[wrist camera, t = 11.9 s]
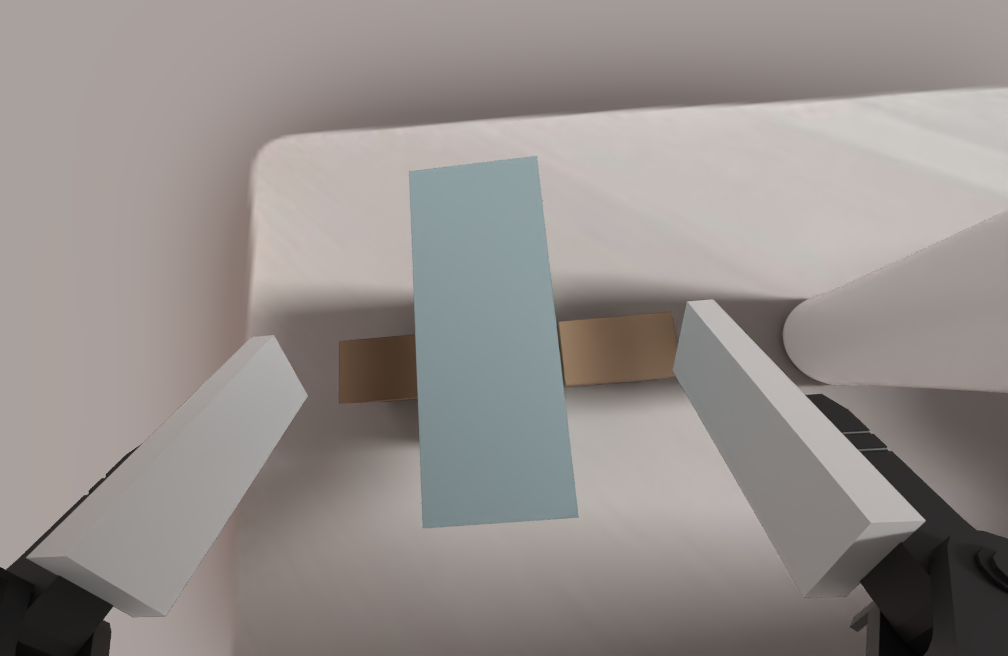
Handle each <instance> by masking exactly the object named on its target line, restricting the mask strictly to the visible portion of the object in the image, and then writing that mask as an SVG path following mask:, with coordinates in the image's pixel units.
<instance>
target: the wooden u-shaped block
mask: <svg viewBox="0 0 1008 656" xmlns="http://www.w3.org/2000/svg"><path fill="white" fill-rule="evenodd" d="M557 335H558V343H559V352H560V361H561V369H562V378H563V387H573V386H586V385H598V384H611V383H623V382H636V381H646V380H654V379H662V378H670V377H676V376H675V374H674V372H673V371H672V370H673V366H674V361H675V356H676V351H677V341H676V336H675V330H674V324H673V318H672V312H661V313H650V314H638V315H627V316H616V317H605V318H594V319H583V320H572V321H560V322H559V323H558V325H557ZM411 399H418V389H417V363H416V337H415V335H404V336H393V337H382V338H371V339H360V340H348V341H340V344H339V403H362V402H386V401H398V400H411Z"/></svg>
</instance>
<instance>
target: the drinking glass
mask: <svg viewBox="0 0 1008 656" xmlns="http://www.w3.org/2000/svg"><path fill="white" fill-rule="evenodd" d="M783 343H784V347H785V350H786V352H787V354H788V356H789V358H790V359H791V361H792V362H793V363H794V365H795V366H796V367H797V368H798V369H799V370H800V371H802V372H803V373H804V374H806V375H807V376H809V377H811V378H813V379H815V380H817V381H819V382H823V383H826V384H831V385H841V386H849V385H877V386H897V387H915V388H933V389H950V390H967V391H983V392H999V393H1008V210H1006V211H1004V212H1002V213H1000V214H998V215H995V216H993V217H991V218H989V219H987V220H984V221H982V222H980V223H978V224H976V225H974V226H971V227H969V228H967V229H965V230H963V231H961V232H958V233H956V234H954V235H952V236H950V237H948V238H945V239H943V240H941V241H939V242H937V243H935V244H932V245H930V246H928V247H926V248H924V249H922V250H920V251H917V252H915V253H913V254H911V255H909V256H907V257H904V258H902V259H900V260H898V261H896V262H893V263H891V264H889V265H887V266H885V267H883V268H880V269H878V270H876V271H874V272H872V273H869V274H867V275H865V276H863V277H861V278H858V279H856V280H854V281H852V282H849V283H847V284H845V285H843V286H841V287H838V288H836V289H834V290H831V291H829V292H826V293H823V294H820V295H817V296H814V297H812V298H809V299H807V300H805V301H803V302H802V303H800V304H799V305H797V306H796V307H795V308H794V309H793V310H792V311H791V313H790V314H789V315H788V317H787V319H786V321H785V324H784V328H783Z"/></svg>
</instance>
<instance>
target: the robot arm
mask: <svg viewBox="0 0 1008 656" xmlns="http://www.w3.org/2000/svg"><path fill="white" fill-rule="evenodd" d="M672 371H673V372H674V374H675V376H676V378H677V379H678V381H679V383H680V384H681V386H682V388H683V390H684V391H685V393H686V395H687V397H688V398H689V400H690V402H691V404H692V405H693V407H694V409H695V410H696V412H697V414H698V416H699V417H700V419H701V421H702V423H703V424H704V426H705V428H706V429H707V431H708V433H709V435H710V436H711V438H712V440H713V442H714V443H715V445H716V447H717V449H718V450H719V452H720V454H721V455H722V457H723V459H724V461H725V462H726V464H727V466H728V468H729V469H730V471H731V473H732V474H733V476H734V478H735V480H736V481H737V483H738V485H739V487H740V488H741V490H742V492H743V494H744V495H745V497H746V499H747V500H748V502H749V504H750V506H751V507H752V509H753V511H754V513H755V514H756V516H757V518H758V519H759V521H760V523H761V525H762V526H763V528H764V530H765V532H766V533H767V535H768V537H769V539H770V540H771V542H772V544H773V545H774V547H775V549H776V551H777V552H778V554H779V556H780V558H781V559H782V561H783V563H784V564H785V566H786V568H787V570H788V571H789V573H790V575H791V577H792V578H793V580H794V582H795V584H796V585H797V587H798V589H799V590H800V592H801V594H802V596H803V597H804V598H818V597H846V596H847V595H848V594H849V593H850V592H851V591H852V590H853V589H855V588H856V587H857V586H858V585H859V584H860V583H861V584H862V585H863V587H864V588H865V590H866V591H867V592H868V594H869V595H870V597H871V598H872V599H873V602H871V603H870V604H869V605H868V606H867V607H866V608H864V609H863V610H862V611H861V612H860V613H859V614H857V615H856V616H855V617H854V618H853V621H852V623H851V625H850V628H852V629H854V630H855V631H857V632H858V631H859V630H860V629H862V628H863V627H864V626H866V625H867V643H866V656H1008V539H1007V538H1004V537H1000V536H997V535H994V534H991V533H988V532H984V531H977V530H976V529H974V528H973V527H972V526H971V525H970V524H969V523H967V522H966V521H965V520H964V519H963V518H962V517H961V516H959V515H958V514H957V513H956V512H955V511H954V510H953V509H952V508H951V507H950V506H949V505H948V504H947V503H946V502H945V501H944V500H943V499H942V498H941V497H940V496H938V495H937V494H936V493H935V492H934V491H933V490H932V489H931V488H930V487H929V486H928V485H927V484H926V483H925V482H924V481H923V480H922V479H921V478H920V477H918V476H917V475H916V474H915V473H914V472H913V471H912V470H911V469H910V468H909V467H908V466H907V465H906V464H905V463H904V462H903V461H902V460H901V459H900V458H899V457H897V456H896V455H895V454H894V453H893V452H892V451H888V450H887V446H886V445H885V444H884V443H883V442H882V441H881V440H880V439H879V438H877V437H876V436H875V435H874V434H870V432H869V429H868V428H867V427H866V426H865V425H864V424H863V423H862V422H861V421H860V420H859V419H858V418H856V417H855V416H854V415H853V414H852V413H851V412H850V411H849V410H848V409H846V408H844V407H843V406H841V405H839V404H838V403H836V402H834V401H833V400H831V399H829V398H828V397H826V396H824V395H823V394H814V395H805V394H804V393H803V392H802V391H801V390H800V389H799V388H798V387H797V386H796V385H795V384H794V383H793V382H792V381H791V380H790V379H789V378H788V377H787V376H786V375H785V374H784V373H783V372H782V370H781V369H780V368H779V367H778V366H777V365H776V364H775V363H774V362H773V361H772V360H771V359H770V358H769V357H768V356H767V355H766V354H765V353H764V352H763V351H762V350H761V349H760V348H759V347H758V346H757V344H756V343H755V342H754V341H753V340H752V339H751V338H750V337H749V336H748V335H747V334H746V333H745V332H744V331H743V330H742V329H741V328H740V327H739V326H738V325H737V324H736V323H735V322H734V321H733V319H732V318H731V317H730V316H729V315H728V314H727V313H726V312H725V311H724V310H723V309H722V308H721V307H720V306H719V305H718V304H717V303H716V302H715V301H714V300H713V299H711V300H699V301H687V304H686V309H685V313H684V318H683V323H682V328H681V332H680V337H679V342H678V347H677V351H676V356H675V361H674V366H673V370H672ZM307 397H308V395H307V393H306V391H305V390H304V388H303V386H302V384H301V382H300V381H299V379H298V377H297V375H296V374H295V372H294V370H293V368H292V366H291V365H290V363H289V361H288V359H287V358H286V356H285V354H284V352H283V350H282V349H281V347H280V345H279V343H278V342H277V340H276V338H275V336H274V335H269V336H256V337H251V338H250V339H249V340H248V341H247V342H246V343H245V344H244V345H243V346H242V347H241V348H240V349H239V350H238V351H237V352H236V353H235V354H234V355H233V356H232V357H231V358H229V360H227V361H226V362H225V363H224V365H222V366H221V367H220V368H219V369H218V370H217V371H216V372H215V373H214V374H213V375H212V376H211V377H210V378H209V379H208V380H207V381H206V382H205V383H204V384H203V385H202V386H201V387H200V388H199V389H198V390H197V391H196V392H195V393H194V394H193V395H192V396H191V397H190V398H189V399H188V400H187V401H186V402H185V403H183V405H181V406H180V407H179V408H178V409H177V410H176V411H175V412H174V413H173V414H172V415H171V416H170V417H169V418H168V419H167V420H166V421H165V422H164V423H163V424H162V425H161V426H160V427H159V428H158V429H157V430H156V431H155V432H154V433H153V434H152V435H151V436H150V437H149V438H148V439H147V440H146V441H145V442H144V443H142V444H141V445H139V446H138V447H137V448H135V449H134V450H132V451H131V452H129V453H128V454H127V455H126V456H124V457H123V458H122V459H121V460H120V461H119V462H118V463H117V464H116V465H115V466H114V467H113V468H112V469H111V470H110V471H109V472H108V473H107V474H106V477H105V478H102V479H101V480H100V481H98V482H97V483H96V484H95V485H94V486H93V487H92V488H91V489H90V490H89V494H88V495H84V496H83V497H82V498H81V499H80V500H79V501H78V502H77V503H76V504H75V505H74V506H73V507H72V508H71V509H70V510H68V511H67V512H66V513H65V514H64V515H63V516H62V517H61V518H60V519H59V520H58V521H57V522H56V523H55V524H54V525H53V526H52V527H51V528H50V529H49V530H48V531H47V532H46V533H45V534H44V535H43V536H42V537H40V538H39V539H38V540H37V541H36V542H35V543H34V544H33V545H32V546H31V547H30V548H29V549H28V550H27V551H26V552H25V553H24V554H23V555H22V556H21V557H20V558H19V559H18V560H17V561H15V562H14V563H13V564H12V565H11V566H10V567H9V568H7V569H6V570H5V569H3V568H1V567H0V656H109V649H110V639H111V628H110V623H108V622H106V621H104V620H103V619H104V618H105V616H106V615H107V614H108V613H109V611H110V610H111V609H112V607H115V608H117V609H119V610H121V611H122V612H124V613H126V614H128V615H130V616H131V617H160V616H166V615H167V614H168V612H169V611H170V609H171V608H172V606H173V604H174V603H175V601H176V600H177V598H178V597H179V595H180V594H181V592H182V590H183V589H184V587H185V586H186V584H187V583H188V581H189V580H190V578H191V577H192V575H193V573H194V572H195V570H196V569H197V567H198V566H199V564H200V562H201V561H202V559H203V558H204V556H205V555H206V553H207V552H208V550H209V549H210V547H211V546H212V544H213V542H214V541H215V539H216V538H217V536H218V535H219V533H220V532H221V530H222V528H223V527H224V525H225V524H226V522H227V520H228V519H229V518H230V516H231V514H232V513H233V511H234V510H235V508H236V507H237V505H238V504H239V502H240V501H241V499H242V497H243V496H244V494H245V493H246V491H247V490H248V488H249V487H250V485H251V484H252V482H253V480H254V479H255V477H256V476H257V474H258V473H259V471H260V470H261V468H262V466H263V465H264V463H265V462H266V460H267V459H268V457H269V456H270V454H271V453H272V451H273V449H274V448H275V446H276V445H277V443H278V442H279V440H280V439H281V437H282V435H283V434H284V432H285V431H286V429H287V428H288V426H289V425H290V423H291V422H292V420H293V418H294V417H295V415H296V414H297V412H298V411H299V409H300V408H301V406H302V405H303V403H304V401H305V400H306V398H307Z"/></svg>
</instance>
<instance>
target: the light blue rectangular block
mask: <svg viewBox="0 0 1008 656" xmlns="http://www.w3.org/2000/svg"><path fill="white" fill-rule="evenodd" d="M409 182H410V208H411V234H412V260H413V286H414V312H415V337H416V363H417V389H418V415H419V441H420V467H421V493H422V519H423V528H434V527H448V526H463V525H477V524H492V523H506V522H521V521H535V520H550V519H564V518H579V517H578V508H577V499H576V491H575V482H574V473H573V465H572V456H571V447H570V439H569V430H568V421H567V413H566V404H565V395H564V387H563V378H562V369H561V361H560V352H559V343H558V335H557V326H556V317H555V309H554V300H553V291H552V282H551V274H550V265H549V256H548V248H547V239H546V230H545V222H544V213H543V204H542V196H541V187H540V178H539V170H538V161H537V156H533V157H524V158H516V159H508V160H499V161H491V162H483V163H475V164H466V165H458V166H450V167H441V168H433V169H425V170H417V171H409Z"/></svg>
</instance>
